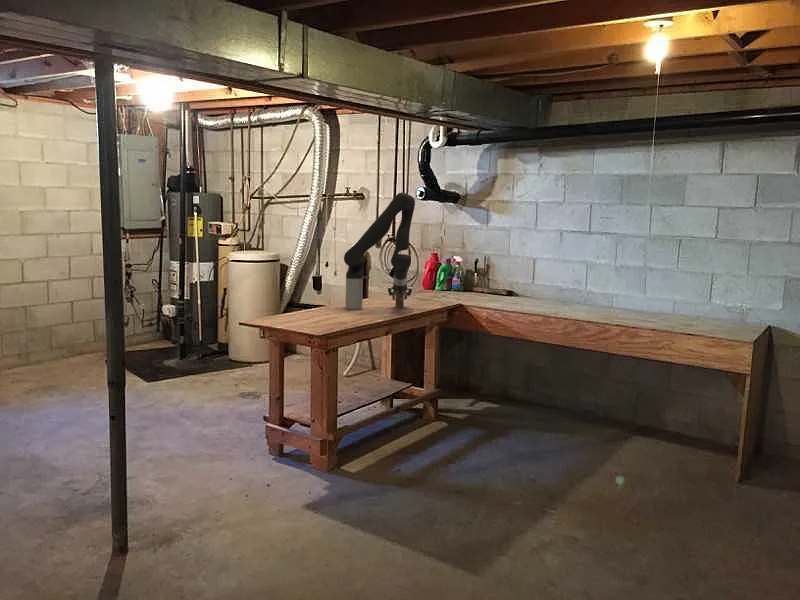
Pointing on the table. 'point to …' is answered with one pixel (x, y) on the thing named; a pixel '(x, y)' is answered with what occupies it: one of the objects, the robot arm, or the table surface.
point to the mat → (406, 309)
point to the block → (399, 300)
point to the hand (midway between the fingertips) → (399, 298)
